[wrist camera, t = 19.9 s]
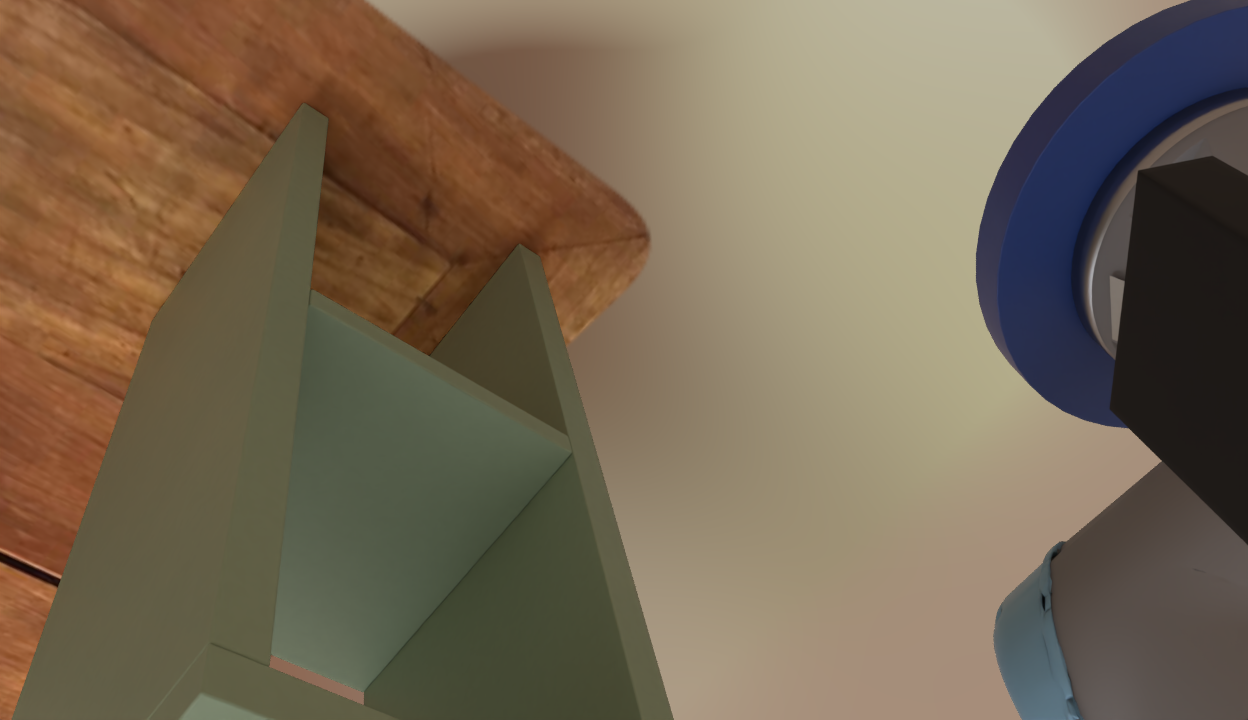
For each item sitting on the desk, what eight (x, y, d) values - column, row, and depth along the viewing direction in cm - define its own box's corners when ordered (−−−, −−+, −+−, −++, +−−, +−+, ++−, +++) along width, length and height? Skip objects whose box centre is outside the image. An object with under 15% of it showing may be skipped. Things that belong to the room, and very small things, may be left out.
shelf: (303, 101, 46) (199, 701, 19) (540, 256, 52) (727, 900, 24) (151, 321, 50) (-124, 1098, 22) (387, 445, 55) (400, 1196, 28)
